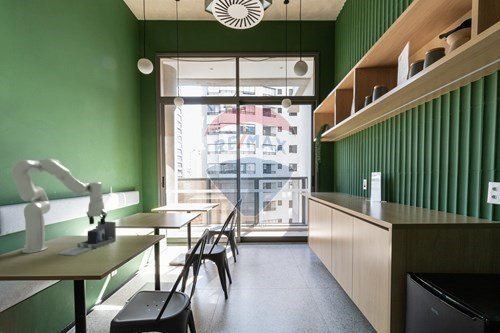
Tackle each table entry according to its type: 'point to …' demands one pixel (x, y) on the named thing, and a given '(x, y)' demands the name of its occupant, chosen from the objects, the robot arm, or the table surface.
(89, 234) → the small box
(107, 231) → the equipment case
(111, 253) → the table surface
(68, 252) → the rubber mat
